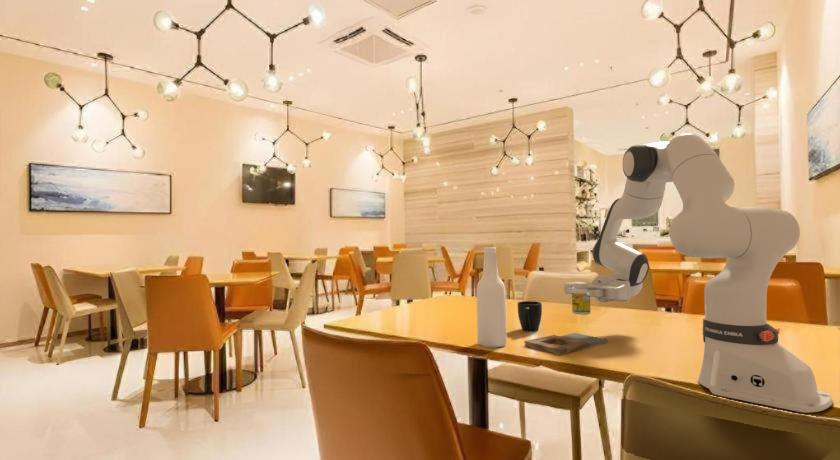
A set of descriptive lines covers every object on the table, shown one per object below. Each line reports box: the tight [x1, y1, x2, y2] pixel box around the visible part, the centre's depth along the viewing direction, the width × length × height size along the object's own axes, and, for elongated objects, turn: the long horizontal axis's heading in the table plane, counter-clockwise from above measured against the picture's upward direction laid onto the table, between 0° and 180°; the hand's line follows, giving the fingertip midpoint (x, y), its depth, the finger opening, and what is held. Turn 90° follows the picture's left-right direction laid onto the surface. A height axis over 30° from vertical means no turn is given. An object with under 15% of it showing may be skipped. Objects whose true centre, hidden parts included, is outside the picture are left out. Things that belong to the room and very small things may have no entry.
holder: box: [524, 334, 590, 356], centre depth 135 cm, size 13×13×2 cm
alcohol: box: [476, 246, 508, 349], centre depth 140 cm, size 9×9×30 cm
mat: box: [560, 332, 609, 348], centre depth 142 cm, size 12×9×1 cm
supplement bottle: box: [571, 281, 591, 316], centre depth 142 cm, size 5×5×10 cm
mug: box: [517, 300, 543, 333], centre depth 157 cm, size 8×12×10 cm
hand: (579, 292), depth 142 cm, fingers closed on supplement bottle, 5 cm apart
